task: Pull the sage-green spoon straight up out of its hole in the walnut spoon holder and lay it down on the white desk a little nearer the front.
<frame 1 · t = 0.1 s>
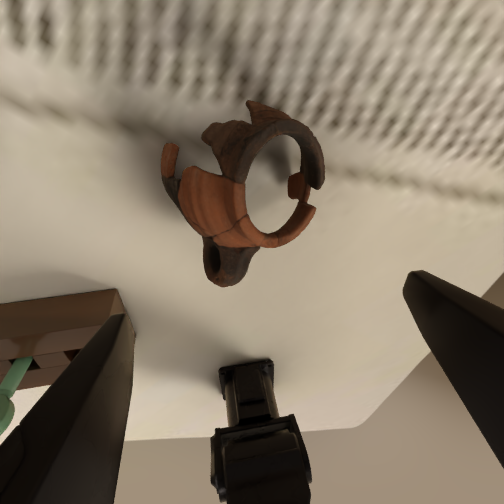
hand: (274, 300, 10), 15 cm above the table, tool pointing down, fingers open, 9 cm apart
holder: (43, 325, 28), on the table
spoon: (43, 325, 28), resting in holder
pottery mug: (230, 180, 23), on the table
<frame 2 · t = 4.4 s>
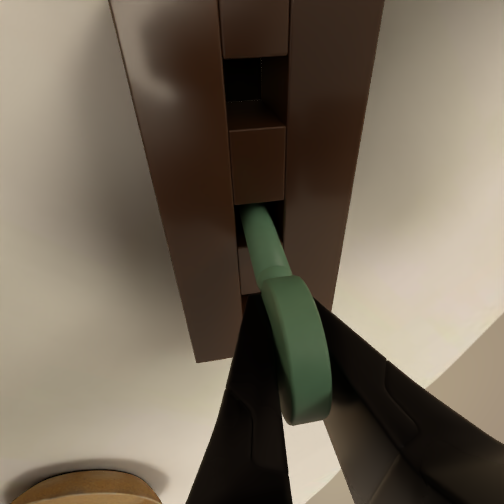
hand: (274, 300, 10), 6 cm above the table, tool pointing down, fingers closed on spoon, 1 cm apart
holder: (243, 179, 14), on the table
spoon: (243, 179, 14), resting in holder, touching gripper
plant saucer: (90, 489, 31), on the table
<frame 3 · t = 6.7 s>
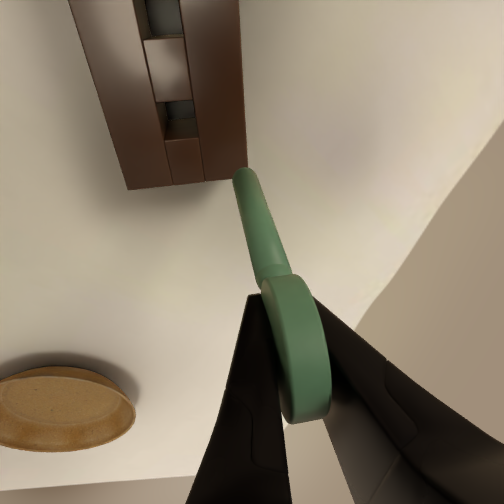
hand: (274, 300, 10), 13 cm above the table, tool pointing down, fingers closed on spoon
holder: (164, 13, 15), on the table
spoon: (243, 174, 14), point 7 cm above the table, tilted 5°, touching gripper
plant saucer: (65, 393, 33), on the table
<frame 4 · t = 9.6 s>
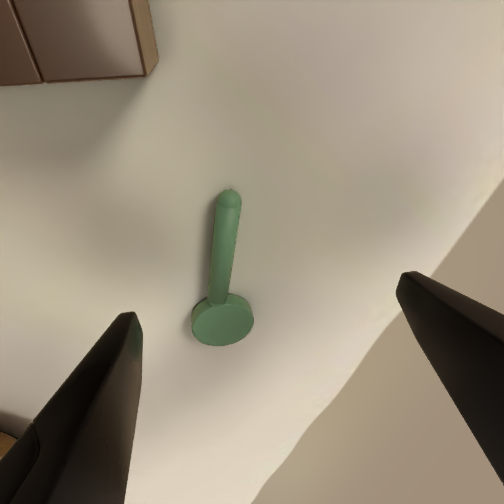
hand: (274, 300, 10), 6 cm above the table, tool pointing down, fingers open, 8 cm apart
spoon: (230, 190, 13), point 1 cm above the table, tilted 90°
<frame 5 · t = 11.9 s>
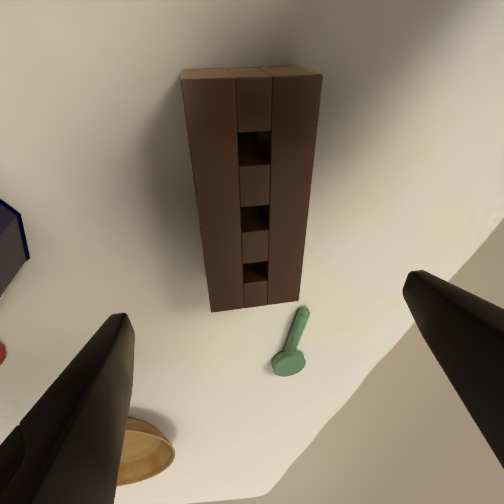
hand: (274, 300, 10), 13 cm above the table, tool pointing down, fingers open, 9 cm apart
holder: (244, 190, 21), on the table
spoon: (305, 309, 29), point 1 cm above the table, tilted 90°
plant saucer: (113, 437, 38), on the table
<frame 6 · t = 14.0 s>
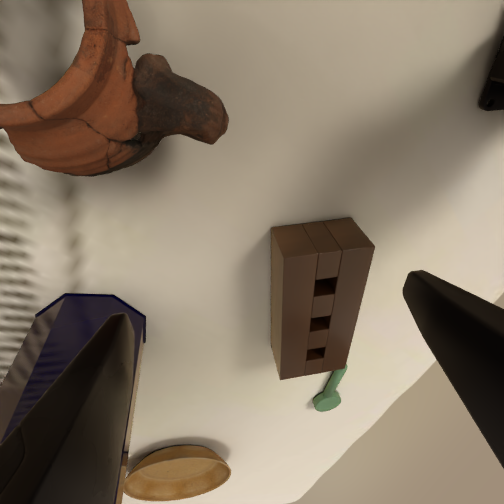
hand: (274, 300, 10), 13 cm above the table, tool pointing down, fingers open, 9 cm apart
holder: (305, 290, 28), on the table
bottle: (95, 327, 27), on the table
spoon: (343, 363, 36), point 1 cm above the table, tilted 90°
plant saucer: (178, 459, 45), on the table
pottery mug: (110, 76, 17), on the table
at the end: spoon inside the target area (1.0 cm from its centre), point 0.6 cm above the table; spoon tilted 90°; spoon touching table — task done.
